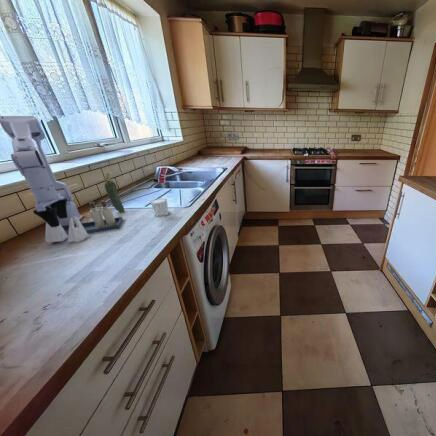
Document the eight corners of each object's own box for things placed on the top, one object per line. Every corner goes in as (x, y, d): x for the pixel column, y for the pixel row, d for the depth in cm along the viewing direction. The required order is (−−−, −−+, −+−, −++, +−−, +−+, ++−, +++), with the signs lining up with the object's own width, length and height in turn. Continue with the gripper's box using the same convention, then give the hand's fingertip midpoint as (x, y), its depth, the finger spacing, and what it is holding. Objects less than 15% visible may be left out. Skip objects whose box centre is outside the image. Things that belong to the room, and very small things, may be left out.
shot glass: (165, 217, 107) (161, 203, 104) (151, 217, 107) (147, 203, 104) (172, 211, 113) (169, 198, 110) (159, 211, 114) (155, 198, 111)
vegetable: (119, 214, 110) (104, 174, 101) (112, 214, 111) (96, 173, 102) (127, 211, 114) (113, 171, 105) (120, 210, 114) (106, 171, 106)
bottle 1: (97, 226, 98) (87, 201, 93) (106, 224, 99) (97, 200, 94) (95, 229, 95) (85, 204, 90) (105, 227, 97) (95, 203, 92)
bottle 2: (108, 224, 99) (98, 200, 94) (117, 223, 101) (108, 199, 96) (106, 227, 97) (96, 202, 92) (115, 226, 98) (106, 201, 93)
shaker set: (46, 246, 84) (32, 219, 80) (54, 240, 88) (40, 215, 83) (84, 242, 87) (72, 216, 82) (90, 236, 91) (79, 211, 86)
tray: (57, 231, 95) (55, 227, 94) (123, 220, 104) (121, 216, 103) (47, 241, 88) (45, 237, 87) (119, 229, 97) (118, 225, 96)
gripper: (48, 191, 74) (66, 228, 80) (65, 180, 86) (79, 212, 91) (18, 194, 71) (39, 232, 77) (40, 182, 83) (57, 216, 89)
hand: (59, 222), depth 84 cm, fingers open, 7 cm apart
